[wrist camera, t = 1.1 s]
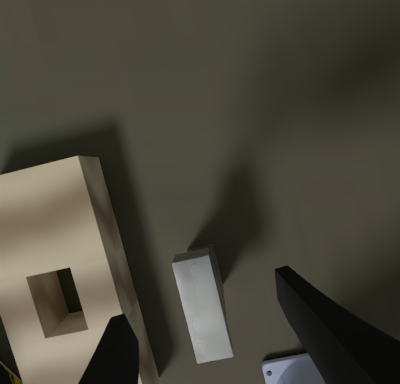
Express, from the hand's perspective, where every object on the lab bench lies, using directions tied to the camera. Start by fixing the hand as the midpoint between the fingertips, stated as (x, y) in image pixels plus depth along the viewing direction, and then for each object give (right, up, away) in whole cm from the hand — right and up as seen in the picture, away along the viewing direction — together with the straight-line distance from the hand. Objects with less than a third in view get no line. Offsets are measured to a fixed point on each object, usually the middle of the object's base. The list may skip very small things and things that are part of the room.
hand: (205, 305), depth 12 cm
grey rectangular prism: (0, -2, +11) cm, 11 cm away
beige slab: (-12, -3, +12) cm, 17 cm away
